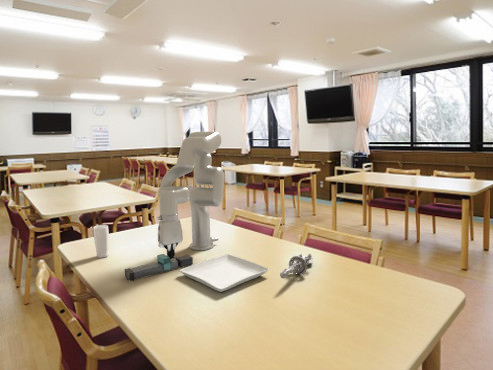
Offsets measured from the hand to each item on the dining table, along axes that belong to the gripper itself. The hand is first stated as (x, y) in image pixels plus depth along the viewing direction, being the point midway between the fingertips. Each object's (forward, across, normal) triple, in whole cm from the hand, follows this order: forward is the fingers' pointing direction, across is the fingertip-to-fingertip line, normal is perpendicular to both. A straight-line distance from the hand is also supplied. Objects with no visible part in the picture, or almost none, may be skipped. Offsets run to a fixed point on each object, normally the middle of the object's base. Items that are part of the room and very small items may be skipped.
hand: (171, 257), depth 154 cm
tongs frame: (+5, -5, 0) cm, 7 cm away
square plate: (+5, +13, -23) cm, 27 cm away
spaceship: (+5, +38, -40) cm, 56 cm away
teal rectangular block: (+4, -4, 0) cm, 5 cm away
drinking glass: (+5, -20, +35) cm, 40 cm away
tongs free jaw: (+4, -9, +1) cm, 10 cm away
